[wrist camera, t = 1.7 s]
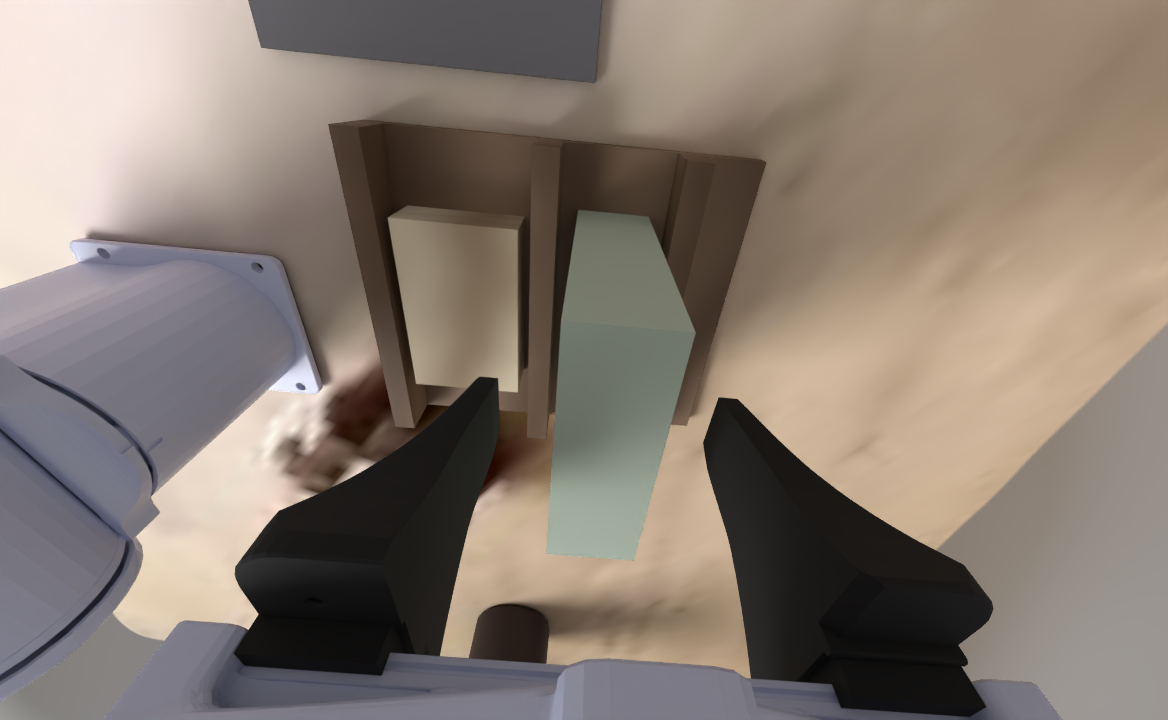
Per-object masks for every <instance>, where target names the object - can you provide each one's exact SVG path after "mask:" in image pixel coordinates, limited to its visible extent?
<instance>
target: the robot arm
mask: <svg viewBox="0 0 1168 720" xmlns="http://www.w3.org/2000/svg"><path fill="white" fill-rule="evenodd" d="M70 248H71V251H72V252H73V254H74V256H75V257H76V259H77V261H78V262H79V263H77V264H74V265H71V266H68V267H65V268H62V269H59V270H56V271H53V272H50V273H47V274H44V275H41V276H38V277H35V278H32V279H29V280H26V281H23V282H20V283H17V284H14V285H11V286H8V287H5V288H2V289H0V702H1V701H2V700H4V699H6V698H7V697H9V696H11V695H13V694H14V693H16V692H17V691H19V690H21V689H22V688H24V687H26V686H27V685H29V684H30V683H32V682H33V681H35V680H37V679H38V678H40V677H41V676H42V675H44V674H45V673H47V672H48V671H50V670H51V669H52V668H54V667H55V666H56V665H58V664H59V663H60V662H62V661H63V660H64V659H65V658H66V657H68V656H69V655H70V654H71V653H73V652H74V651H75V650H76V649H77V648H78V647H80V646H81V645H82V644H83V643H84V642H85V641H86V640H87V639H88V638H89V637H90V636H91V635H92V634H94V633H95V632H96V631H97V630H98V628H99V627H100V626H101V625H102V624H103V623H104V622H105V621H106V620H107V618H108V617H109V616H110V615H111V614H112V612H113V611H114V610H115V609H116V608H117V606H118V605H119V604H120V602H121V601H122V600H123V598H124V597H125V596H126V594H127V593H128V591H129V590H130V588H131V586H132V585H133V583H134V581H135V580H136V578H137V575H138V573H139V571H140V568H141V565H142V560H143V550H142V546H141V544H140V542H139V541H138V539H137V538H136V536H137V535H138V534H139V533H140V532H141V531H142V530H143V529H144V528H145V527H146V526H147V525H148V524H149V523H150V522H151V521H152V520H153V519H154V518H155V517H156V516H157V515H158V514H159V513H160V511H159V509H158V508H157V507H156V506H155V505H154V503H153V501H152V499H151V496H152V495H153V494H154V493H155V492H156V491H158V490H159V489H160V488H161V487H162V486H163V485H164V484H165V483H166V482H167V481H169V480H170V479H171V478H172V477H173V476H174V475H175V474H176V473H177V472H178V471H179V470H181V469H182V468H183V467H184V466H185V465H186V464H187V463H188V462H189V461H190V460H192V459H193V458H194V457H195V456H196V455H197V454H198V453H199V452H200V451H201V450H202V449H204V448H205V447H206V446H207V445H208V444H209V443H210V442H211V441H212V440H213V439H215V438H216V437H217V436H218V435H219V434H220V433H221V432H222V431H223V430H224V429H225V428H227V427H228V426H229V425H230V424H231V423H232V422H233V421H234V420H235V419H236V418H238V417H239V416H240V415H241V414H242V413H243V412H244V411H245V410H246V409H247V408H249V407H250V406H251V405H252V404H253V403H254V402H255V401H256V400H257V399H258V398H259V397H261V396H262V395H263V394H264V393H265V392H266V391H267V390H273V391H285V392H297V393H309V394H316V393H318V392H319V391H320V390H321V389H322V387H323V386H322V382H321V379H320V376H319V373H318V370H317V367H316V364H315V361H314V358H313V354H312V351H311V348H310V345H309V342H308V339H307V336H306V333H305V330H304V327H303V324H302V321H301V318H300V315H299V312H298V309H297V306H296V303H295V300H294V297H293V294H292V291H291V288H290V285H289V282H288V279H287V275H286V272H285V269H284V267H283V265H282V263H281V262H280V261H279V260H278V259H277V258H275V257H273V256H268V255H257V254H246V253H235V252H224V251H213V250H203V249H192V248H181V247H170V246H159V245H148V244H138V243H127V242H116V241H105V240H94V239H77V240H74V241H72V242H71V243H70ZM257 263H259V264H260V265H261V266H262V267H263V269H261V268H260V267H259V266H258V264H257ZM301 383H302V384H304V385H305V386H304V385H302V384H301ZM499 427H500V414H499V385H498V378H492V377H480V376H479V377H478V378H477V379H476V380H475V381H474V382H473V383H472V384H471V385H470V386H469V387H468V388H467V389H466V390H465V391H464V392H463V393H462V394H461V395H460V396H459V397H458V398H457V399H456V400H455V401H454V402H453V403H452V404H451V405H450V406H449V407H448V408H447V409H446V410H445V411H444V412H443V413H442V414H441V415H440V416H439V417H438V418H436V419H435V420H434V421H433V422H432V423H431V424H429V425H428V426H427V427H426V428H425V429H423V430H422V431H421V432H420V433H419V434H417V435H416V436H415V437H414V438H412V439H411V440H410V441H408V442H407V443H406V444H404V445H403V446H402V447H400V448H399V449H397V450H396V451H395V452H393V453H392V454H390V455H389V456H387V457H385V458H384V459H382V460H380V461H379V462H377V463H376V464H374V465H372V466H371V467H369V468H367V469H366V470H364V471H362V472H361V473H359V474H357V475H355V476H353V477H351V478H350V479H348V480H346V481H344V482H342V483H340V484H338V485H336V486H334V487H332V488H330V489H328V490H326V491H324V492H322V493H319V494H317V495H315V496H313V497H310V498H308V499H306V500H303V501H301V502H299V503H297V504H294V505H292V506H290V507H287V508H285V509H282V510H280V511H278V513H277V514H276V515H275V516H274V517H273V518H272V520H271V521H270V522H269V523H268V524H267V525H266V527H265V528H264V529H263V531H262V532H261V533H260V535H259V536H258V537H257V539H256V540H255V541H254V543H253V544H252V545H251V547H250V548H249V549H248V551H247V552H246V553H245V555H244V556H243V557H242V559H241V560H240V561H239V563H238V564H237V565H236V567H235V578H236V580H237V582H238V585H239V587H240V588H241V590H242V591H243V592H244V594H245V595H246V597H247V598H248V599H249V601H250V602H251V604H252V605H253V607H254V608H255V609H256V611H257V612H258V614H259V615H258V616H257V618H256V619H255V621H254V623H253V624H252V626H251V627H250V629H249V630H247V629H246V628H244V627H241V626H239V625H234V624H228V623H214V622H200V621H182V622H180V623H178V624H177V626H176V627H175V628H174V629H173V631H172V632H171V633H170V635H169V636H168V637H167V638H166V640H165V641H164V642H163V644H162V645H161V646H160V647H159V649H158V650H157V651H156V652H155V654H154V655H153V656H152V657H151V659H150V660H149V661H148V662H147V664H146V665H145V666H144V668H143V669H142V670H141V672H140V673H139V674H138V675H137V677H136V678H135V679H134V680H133V682H132V683H131V684H130V686H129V687H128V688H127V689H126V690H125V692H124V693H123V694H122V696H121V697H120V698H119V699H118V701H117V702H116V703H115V705H114V706H113V707H112V708H111V710H110V711H109V712H108V713H107V715H106V716H105V717H104V718H103V720H1062V718H1061V717H1060V716H1059V714H1058V713H1057V712H1056V710H1055V709H1054V708H1053V706H1052V705H1051V704H1050V702H1049V701H1048V699H1047V698H1046V697H1045V695H1044V694H1043V693H1042V691H1041V690H1040V689H1039V687H1038V686H1037V685H1036V684H1034V683H1032V682H1023V681H1010V680H996V679H981V680H977V681H973V682H971V681H970V679H969V678H968V676H967V675H966V673H965V672H964V670H963V668H962V667H961V666H966V665H967V664H968V661H967V658H966V656H965V655H964V653H963V652H962V650H961V649H960V647H959V646H958V645H959V644H960V643H961V642H963V641H964V640H965V639H967V638H968V637H969V636H970V635H972V634H973V633H974V632H976V631H977V630H978V629H980V628H981V627H982V626H983V625H984V624H985V623H986V622H987V621H988V620H989V619H990V616H991V614H992V611H993V605H992V601H991V600H990V599H989V597H988V596H987V595H986V593H985V592H984V591H983V589H982V588H981V587H980V586H979V584H978V583H977V582H976V580H975V579H974V578H973V576H972V575H971V574H970V572H969V571H968V570H967V569H966V567H965V566H964V565H963V564H961V563H959V562H957V561H955V560H953V559H951V558H949V557H947V556H945V555H944V554H942V553H940V552H938V551H936V550H934V549H932V548H930V547H928V546H926V545H924V544H922V543H920V542H919V541H917V540H915V539H913V538H911V537H910V536H908V535H906V534H904V533H903V532H901V531H899V530H898V529H896V528H894V527H892V526H891V525H889V524H887V523H886V522H884V521H883V520H881V519H879V518H878V517H876V516H874V515H873V514H871V513H870V512H868V511H867V510H865V509H864V508H862V507H861V506H859V505H858V504H856V503H855V502H853V501H852V500H850V499H849V498H848V497H846V496H845V495H843V494H842V493H841V492H839V491H838V490H837V489H835V488H834V487H833V486H831V485H830V484H829V483H827V482H826V481H825V480H824V479H822V478H821V477H820V476H818V475H817V474H816V473H815V472H813V471H812V470H811V469H810V468H809V467H808V466H806V465H805V464H804V463H803V462H802V461H801V460H800V459H798V458H797V457H796V456H795V455H794V454H793V453H792V452H791V451H790V450H788V449H787V448H786V447H785V446H784V445H783V444H782V443H781V442H780V441H779V440H778V439H777V438H776V437H775V436H774V435H773V434H772V433H771V432H770V431H769V430H768V429H767V428H766V427H765V426H764V425H763V424H762V423H761V422H760V421H759V420H758V419H757V418H756V417H755V416H754V415H753V414H752V413H751V412H750V411H749V410H748V409H747V408H746V407H745V406H744V405H743V404H742V403H741V402H740V401H739V400H738V399H731V398H718V401H717V404H716V407H715V410H714V413H713V416H712V419H711V422H710V424H709V427H708V430H707V433H706V436H705V439H704V442H703V444H704V451H705V458H706V464H707V470H708V473H709V477H710V480H711V484H712V487H713V490H714V494H715V497H716V500H717V503H718V506H719V510H720V513H721V516H722V519H723V523H724V526H725V529H726V532H727V536H728V540H729V544H730V548H731V553H732V558H733V563H734V568H735V573H736V578H737V584H738V590H739V596H740V601H741V607H742V614H743V621H744V627H745V634H746V641H747V649H748V657H749V665H750V674H751V679H749V678H744V677H743V676H741V675H740V674H739V673H737V672H736V671H734V670H731V669H726V668H721V667H716V666H705V665H691V664H678V663H664V662H650V661H636V660H622V659H586V660H583V661H580V662H577V663H574V664H571V665H555V664H541V663H527V662H513V661H499V660H485V659H471V658H457V657H443V656H440V652H441V647H442V642H443V637H444V632H445V627H446V622H447V618H448V613H449V608H450V604H451V599H452V595H453V590H454V585H455V581H456V577H457V572H458V568H459V564H460V560H461V555H462V551H463V547H464V543H465V539H466V535H467V531H468V527H469V523H470V520H471V517H472V514H473V511H474V508H475V505H476V502H477V499H478V497H479V494H480V491H481V488H482V485H483V483H484V480H485V477H486V474H487V471H488V468H489V466H490V463H491V460H492V457H493V454H494V450H495V446H496V441H497V437H498V432H499Z"/></svg>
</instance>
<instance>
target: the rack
mask: <svg viewBox="0 0 1168 720" xmlns="http://www.w3.org/2000/svg"><path fill="white" fill-rule="evenodd" d="M328 125H329V130H330V134H331V139H332V143H333V148H334V152H335V157H336V161H337V166H338V170H339V175H340V179H341V184H342V188H343V193H344V197H345V202H346V206H347V211H348V215H349V220H350V224H351V229H352V233H353V238H354V242H355V247H356V251H357V256H358V260H359V265H360V269H361V274H362V278H363V283H364V287H365V292H366V296H367V301H368V305H369V310H370V314H371V319H372V323H373V328H374V332H375V337H376V341H377V346H378V350H379V355H380V359H381V364H382V368H383V373H384V377H385V382H386V386H387V391H388V395H389V400H390V404H391V409H392V413H393V418H394V422H395V427H407V428H415V426H416V424H417V422H418V421H419V419H420V417H421V415H422V413H423V411H424V409H425V408H426V406H427V404H433V405H445V406H450V405H451V404H452V403H453V402H454V401H455V400H456V399H457V398H458V397H459V396H460V395H461V394H462V393H463V392H464V391H465V390H466V389H467V388H460V387H448V386H437V385H425V384H416V380H415V374H414V368H413V362H412V357H411V351H410V345H409V339H408V333H407V327H406V322H405V316H404V310H403V304H402V298H401V293H400V287H399V281H398V275H397V269H396V263H395V258H394V252H393V246H392V240H391V234H390V229H389V223H388V217H389V216H391V215H393V214H394V213H396V212H398V211H399V210H401V209H403V208H404V207H406V206H407V205H409V206H419V207H429V208H440V209H450V210H461V211H471V212H481V213H492V214H502V215H513V216H523V217H525V287H524V371H523V375H522V378H521V382H520V386H519V390H518V392H507V391H499V410H505V411H517V412H528V422H527V437H529V438H541V439H546V435H547V428H548V421H549V414H552V415H555V408H556V392H557V377H558V361H559V345H560V330H561V318H562V311H563V305H564V299H565V292H566V286H567V279H568V273H569V266H570V260H571V253H572V247H573V241H574V234H575V228H576V221H577V215H578V210H586V211H597V212H607V213H617V214H628V215H638V216H648V217H649V219H650V221H651V224H652V226H653V229H654V231H655V234H656V236H657V239H658V241H659V243H660V246H661V248H662V251H663V253H664V256H665V258H666V261H667V263H668V266H669V268H670V271H671V273H672V276H673V278H674V280H675V283H676V285H677V288H678V290H679V293H680V295H681V298H682V300H683V303H684V305H685V308H686V310H687V312H688V315H689V317H690V320H691V322H692V325H693V327H694V330H695V332H696V333H695V337H694V341H693V344H692V348H691V352H690V356H689V359H688V363H687V367H686V370H685V374H684V378H683V381H682V385H681V389H680V392H679V396H678V400H677V403H676V407H675V411H674V414H673V418H672V422H671V424H672V425H684V426H687V423H688V420H689V417H690V413H691V410H692V407H693V404H694V400H695V397H696V394H697V390H698V387H699V384H700V380H701V377H702V374H703V370H704V367H705V364H706V360H707V357H708V354H709V351H710V347H711V344H712V341H713V337H714V334H715V331H716V327H717V324H718V321H719V317H720V314H721V311H722V307H723V304H724V301H725V297H726V294H727V291H728V288H729V284H730V281H731V278H732V274H733V271H734V268H735V264H736V261H737V258H738V254H739V251H740V248H741V244H742V241H743V238H744V235H745V231H746V228H747V225H748V221H749V218H750V215H751V211H752V208H753V205H754V201H755V198H756V195H757V191H758V188H759V185H760V181H761V178H762V175H763V172H764V168H765V165H766V162H765V161H763V160H757V159H748V158H738V157H728V156H718V155H708V154H698V153H688V152H678V151H668V150H659V149H649V148H639V147H629V146H619V145H609V144H599V143H589V142H579V141H570V140H560V139H550V138H540V137H530V136H520V135H510V134H500V133H490V132H481V131H471V130H461V129H451V128H441V127H431V126H421V125H411V124H401V123H392V122H382V121H372V120H358V121H350V122H343V123H335V124H328Z"/></svg>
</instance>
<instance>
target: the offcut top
mask: <svg viewBox="0 0 1168 720" xmlns="http://www.w3.org/2000/svg"><path fill="white" fill-rule="evenodd" d="M388 223H389V229H390V234H391V240H392V246H393V252H394V258H395V263H396V269H397V275H398V281H399V287H400V293H401V298H402V304H403V310H404V316H405V322H406V327H407V333H408V339H409V345H410V351H411V357H412V362H413V368H414V374H415V380H416V384H425V385H437V386H448V387H460V388H468V387H469V386H470V385H471V384H472V383H473V382H474V381H475V380H476V379H477V378H478V377H479V376H480V377H492V378H498V385H499V391H507V392H518V390H519V386H520V382H521V223H516V222H506V221H495V220H485V219H474V218H464V217H453V216H443V215H432V214H422V213H411V212H401V211H398V212H396V213H394V214H393V215H391V216H389V217H388Z"/></svg>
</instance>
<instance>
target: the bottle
mask: <svg viewBox="0 0 1168 720" xmlns="http://www.w3.org/2000/svg"><path fill="white" fill-rule="evenodd" d="M548 638H549V626H548V621H547V620H546V619H545V618H544V617H543V616H542V615H541V614H540V613H538V612H536V611H535V610H532V609H529V608H526V607H521V606H514V605H503V606H497V607H493V608H490V609H488V610H486V611H484V612H483V613H482V614H481V615H480V616H479V617H478V620H477V624H476V628H475V633H474V637H473V642H472V646H471V651H470V655H469V658H471V659H485V660H499V661H513V662H527V663H541V664H546V661H547V650H548Z"/></svg>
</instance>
